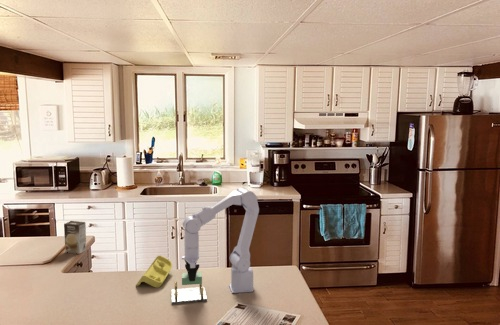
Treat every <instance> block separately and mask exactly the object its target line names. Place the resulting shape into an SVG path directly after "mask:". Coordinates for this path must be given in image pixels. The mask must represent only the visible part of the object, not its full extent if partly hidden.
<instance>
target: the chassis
mask: <svg viewBox="0 0 500 325" xmlns="http://www.w3.org/2000/svg"><path fill="white" fill-rule="evenodd" d="M198 285H199V286H197V287H195V286H194V287H186V288H185V287H184V288H178V281H174V289H171V305H181V304H191V303H192V304H193V303H202V302H204V303H205V302H208V297H207V292H206V287H205V286H203V283H202V284H198Z"/></svg>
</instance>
